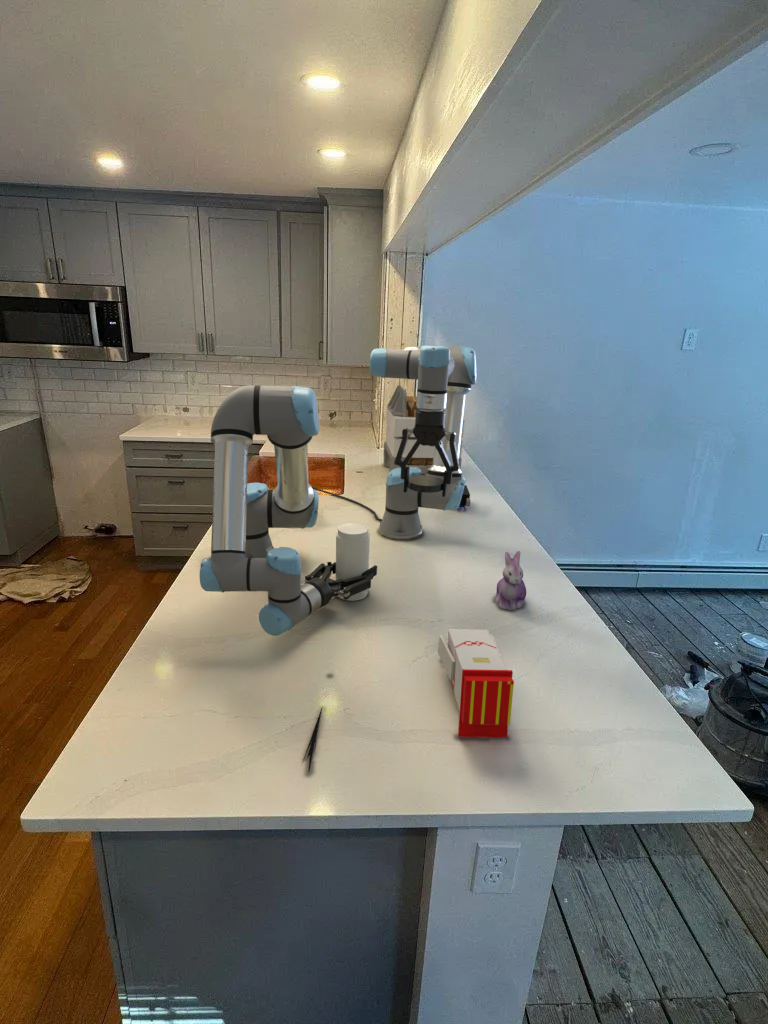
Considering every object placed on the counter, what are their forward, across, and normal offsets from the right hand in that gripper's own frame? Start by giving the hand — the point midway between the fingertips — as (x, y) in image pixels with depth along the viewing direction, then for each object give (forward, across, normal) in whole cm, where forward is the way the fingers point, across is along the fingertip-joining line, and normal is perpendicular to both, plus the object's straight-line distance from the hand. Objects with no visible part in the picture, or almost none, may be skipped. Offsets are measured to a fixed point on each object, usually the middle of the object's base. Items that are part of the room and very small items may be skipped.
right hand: (424, 493), depth 151 cm
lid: (-3, 0, 0) cm, 3 cm away
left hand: (+22, -16, -4) cm, 28 cm away
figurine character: (+29, +4, +76) cm, 82 cm away
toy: (+29, +18, -42) cm, 54 cm away
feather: (+29, -9, -59) cm, 66 cm away
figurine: (+29, +26, 0) cm, 39 cm away
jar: (+29, -17, -8) cm, 35 cm away
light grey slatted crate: (+29, -21, +119) cm, 125 cm away
